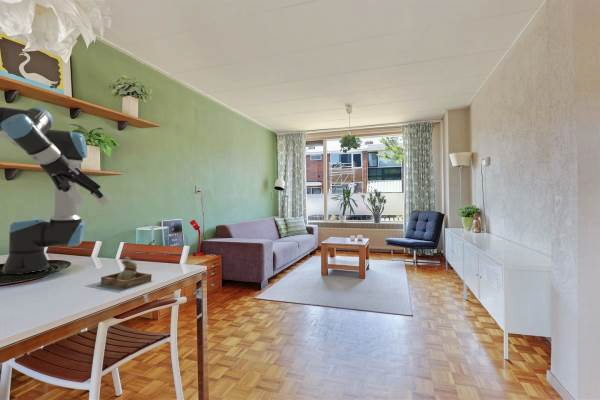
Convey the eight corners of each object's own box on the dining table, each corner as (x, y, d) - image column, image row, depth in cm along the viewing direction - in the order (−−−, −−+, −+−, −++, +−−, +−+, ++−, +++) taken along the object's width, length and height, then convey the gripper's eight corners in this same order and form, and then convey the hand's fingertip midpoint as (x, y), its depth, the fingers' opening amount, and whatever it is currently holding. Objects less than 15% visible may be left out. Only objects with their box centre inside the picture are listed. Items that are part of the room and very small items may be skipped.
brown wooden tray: (100, 284, 114) (101, 277, 114) (127, 277, 125) (127, 270, 125) (126, 288, 110) (126, 281, 110) (151, 281, 121) (151, 274, 121)
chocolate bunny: (139, 280, 118) (139, 256, 118) (116, 283, 113) (117, 258, 113) (135, 277, 122) (136, 254, 122) (113, 280, 117) (114, 256, 117)
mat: (84, 287, 111) (84, 286, 111) (122, 276, 126) (122, 276, 126) (118, 293, 105) (118, 292, 105) (153, 282, 120) (153, 281, 120)
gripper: (18, 165, 101) (64, 208, 115) (66, 165, 93) (109, 210, 107) (36, 153, 106) (78, 195, 120) (84, 151, 98) (122, 196, 112)
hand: (93, 202), depth 113 cm, fingers open, 13 cm apart
